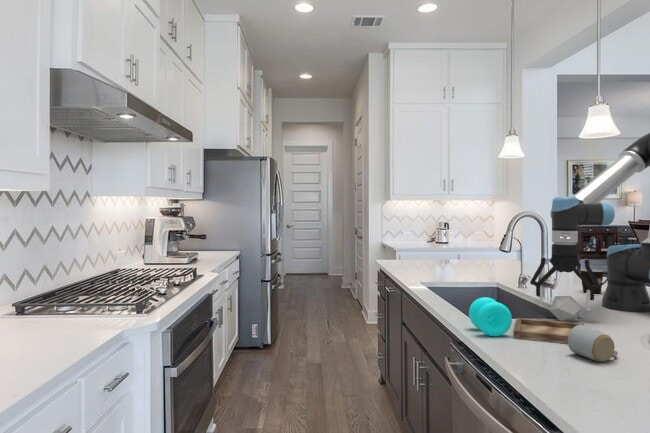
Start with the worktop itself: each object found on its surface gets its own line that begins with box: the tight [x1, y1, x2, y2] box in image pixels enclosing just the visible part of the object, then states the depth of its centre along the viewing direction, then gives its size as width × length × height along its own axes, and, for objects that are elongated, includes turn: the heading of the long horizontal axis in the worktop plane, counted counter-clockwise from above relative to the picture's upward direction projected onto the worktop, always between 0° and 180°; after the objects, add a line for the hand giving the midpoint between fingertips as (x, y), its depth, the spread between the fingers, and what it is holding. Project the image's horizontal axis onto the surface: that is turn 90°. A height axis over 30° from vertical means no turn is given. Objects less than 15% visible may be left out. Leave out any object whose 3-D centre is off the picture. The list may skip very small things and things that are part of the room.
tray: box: [513, 317, 586, 345], centre depth 127 cm, size 19×17×2 cm
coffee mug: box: [579, 268, 607, 294], centre depth 186 cm, size 12×9×10 cm
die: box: [549, 295, 583, 322], centre depth 143 cm, size 8×9×10 cm
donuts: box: [468, 296, 513, 337], centre depth 130 cm, size 10×10×10 cm
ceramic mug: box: [567, 324, 618, 363], centre depth 107 cm, size 10×8×7 cm
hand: (564, 308), depth 143 cm, fingers open, 13 cm apart
